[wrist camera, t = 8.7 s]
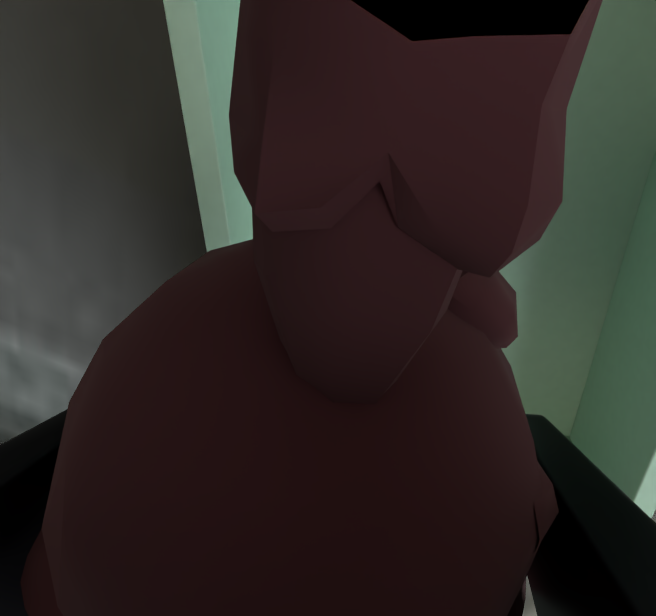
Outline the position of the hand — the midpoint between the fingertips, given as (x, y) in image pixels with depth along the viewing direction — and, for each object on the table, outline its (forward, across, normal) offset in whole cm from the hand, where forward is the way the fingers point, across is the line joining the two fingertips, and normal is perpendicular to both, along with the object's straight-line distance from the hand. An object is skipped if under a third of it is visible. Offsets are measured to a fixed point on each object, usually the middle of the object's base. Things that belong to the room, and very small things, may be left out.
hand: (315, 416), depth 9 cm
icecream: (+2, 0, 0) cm, 2 cm away
